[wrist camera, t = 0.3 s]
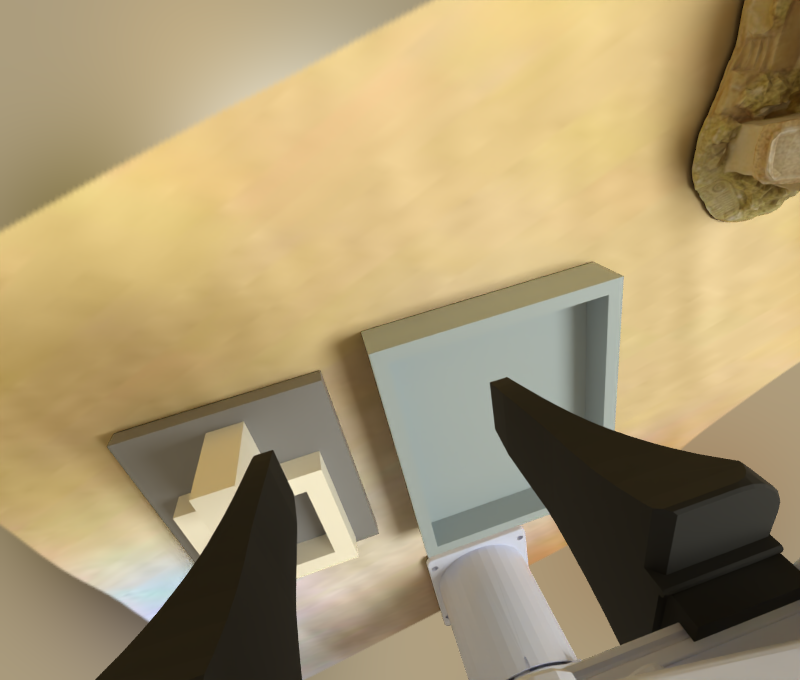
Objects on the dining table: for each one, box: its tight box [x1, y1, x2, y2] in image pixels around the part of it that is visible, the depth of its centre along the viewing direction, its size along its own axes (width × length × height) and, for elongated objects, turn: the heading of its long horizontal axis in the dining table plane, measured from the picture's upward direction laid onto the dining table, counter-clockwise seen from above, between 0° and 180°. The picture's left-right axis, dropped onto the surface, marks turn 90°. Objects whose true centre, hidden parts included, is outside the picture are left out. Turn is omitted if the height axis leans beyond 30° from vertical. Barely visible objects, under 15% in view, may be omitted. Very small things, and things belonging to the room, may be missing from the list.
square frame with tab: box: [173, 421, 359, 579], centre depth 23 cm, size 12×8×4 cm
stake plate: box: [107, 371, 379, 562], centre depth 24 cm, size 13×11×5 cm
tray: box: [361, 262, 624, 558], centre depth 27 cm, size 17×14×2 cm
